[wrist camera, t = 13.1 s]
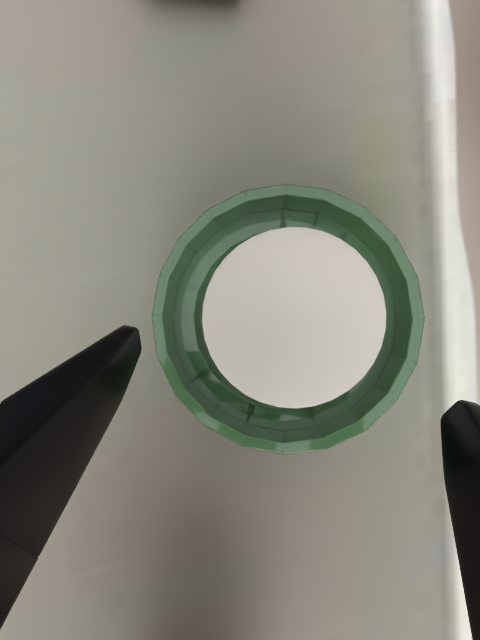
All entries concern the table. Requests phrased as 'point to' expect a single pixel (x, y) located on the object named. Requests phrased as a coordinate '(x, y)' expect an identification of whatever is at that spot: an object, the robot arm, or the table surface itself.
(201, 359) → the bowl
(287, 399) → the light bulb
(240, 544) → the table surface
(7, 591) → the robot arm
